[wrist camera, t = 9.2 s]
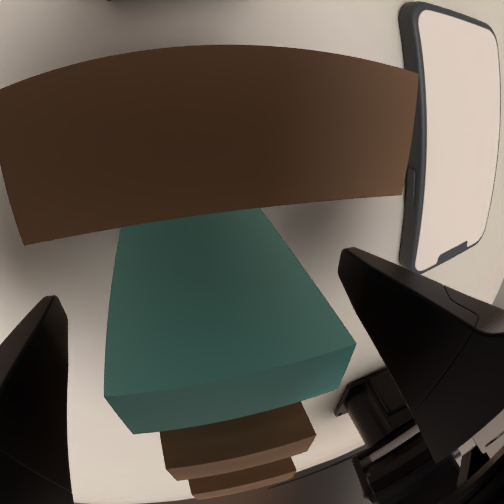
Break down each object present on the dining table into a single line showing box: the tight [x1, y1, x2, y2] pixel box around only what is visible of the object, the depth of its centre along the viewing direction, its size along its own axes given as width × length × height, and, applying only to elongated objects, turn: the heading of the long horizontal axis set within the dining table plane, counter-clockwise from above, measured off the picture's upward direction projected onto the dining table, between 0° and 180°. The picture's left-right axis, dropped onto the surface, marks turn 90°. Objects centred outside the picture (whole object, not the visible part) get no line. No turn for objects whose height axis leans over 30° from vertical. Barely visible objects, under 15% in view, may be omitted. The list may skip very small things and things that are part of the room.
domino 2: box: [104, 208, 357, 434], centre depth 9 cm, size 2×5×8 cm, turn 89°
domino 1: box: [0, 45, 419, 245], centre depth 6 cm, size 2×5×8 cm, turn 89°
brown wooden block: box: [188, 457, 296, 500], centre depth 14 cm, size 2×5×8 cm, turn 89°
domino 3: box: [160, 401, 316, 481], centre depth 12 cm, size 2×5×8 cm, turn 89°
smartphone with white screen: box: [398, 1, 501, 274], centre depth 13 cm, size 9×2×16 cm
